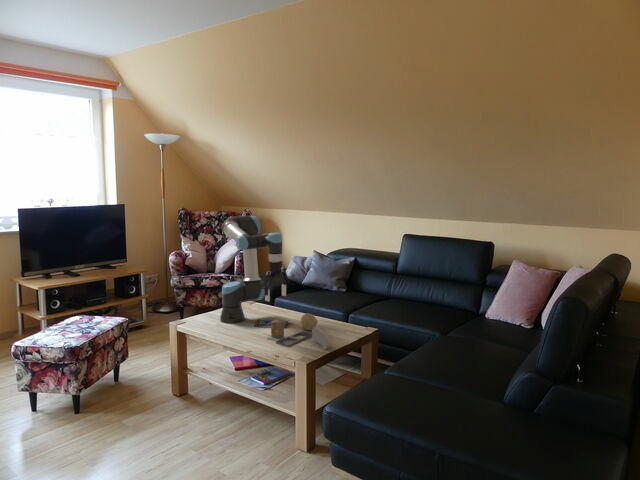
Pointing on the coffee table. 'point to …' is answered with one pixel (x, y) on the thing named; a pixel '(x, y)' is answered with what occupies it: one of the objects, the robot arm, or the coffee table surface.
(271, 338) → the felt pad
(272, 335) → the walnut block
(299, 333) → the grey slotted board
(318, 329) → the game controller
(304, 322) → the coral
